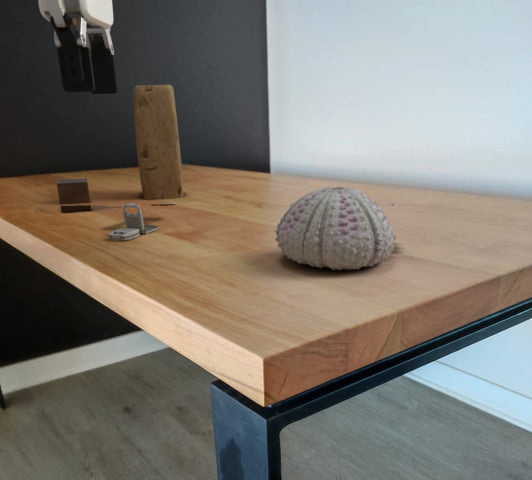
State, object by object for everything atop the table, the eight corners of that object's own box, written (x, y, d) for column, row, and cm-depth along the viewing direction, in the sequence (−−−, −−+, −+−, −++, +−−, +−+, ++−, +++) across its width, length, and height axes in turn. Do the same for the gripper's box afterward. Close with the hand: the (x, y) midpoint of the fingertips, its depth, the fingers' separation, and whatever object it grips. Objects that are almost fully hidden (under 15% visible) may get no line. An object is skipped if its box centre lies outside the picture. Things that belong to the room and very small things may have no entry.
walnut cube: (61, 213, 94) (56, 183, 91) (62, 208, 98) (57, 179, 96) (91, 211, 95) (87, 181, 93) (91, 206, 99) (86, 178, 97)
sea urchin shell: (330, 241, 70) (332, 177, 67) (419, 260, 61) (427, 186, 58) (252, 260, 63) (250, 188, 59) (340, 285, 53) (344, 201, 50)
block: (185, 206, 98) (176, 82, 90) (143, 208, 97) (129, 83, 88) (180, 197, 108) (171, 85, 99) (142, 199, 106) (129, 85, 98)
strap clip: (125, 242, 73) (121, 209, 71) (107, 240, 74) (102, 208, 72) (160, 229, 80) (158, 199, 78) (143, 228, 81) (140, 198, 79)
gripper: (61, -80, 61) (86, 95, 68) (-19, -145, 45) (25, 91, 52) (127, -82, 61) (145, 93, 68) (70, -148, 45) (101, 90, 52)
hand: (92, 91), depth 60 cm, fingers open, 7 cm apart
